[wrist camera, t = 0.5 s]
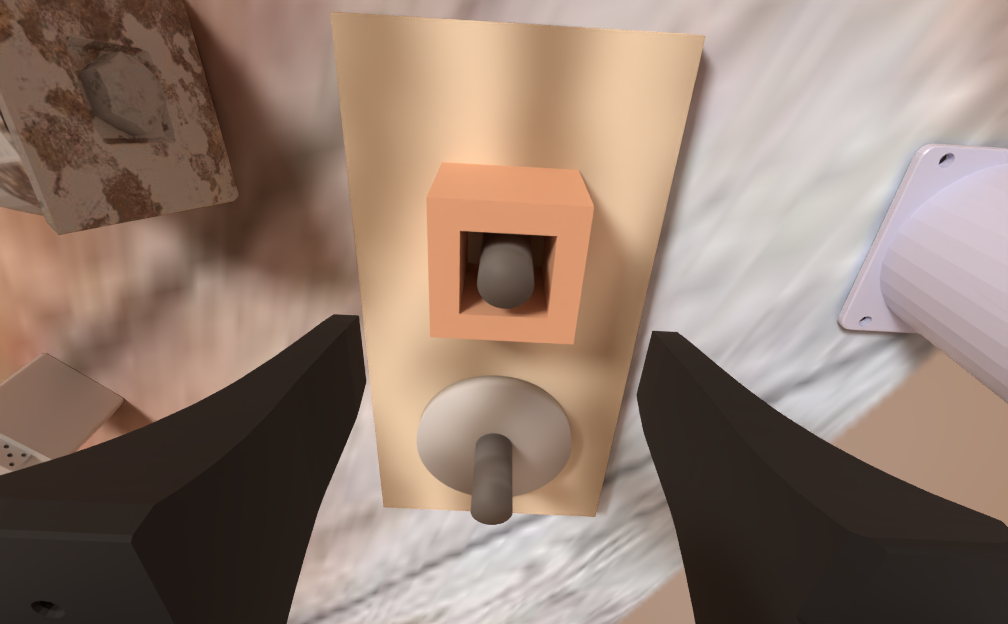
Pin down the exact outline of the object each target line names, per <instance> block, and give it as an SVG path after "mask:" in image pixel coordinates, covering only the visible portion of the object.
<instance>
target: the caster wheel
mask: <svg viewBox="0 0 1008 624" xmlns="http://www.w3.org/2000/svg"><path fill="white" fill-rule="evenodd" d="M238 196H239V193H238V190H237V186H236V183H235V179H234V176H233V172H232V169H231V165H230V162H229V158H228V154H227V151H226V147H225V144H224V140H223V137H222V133H221V130H220V126H219V123H218V119H217V116H216V112H215V108H214V105H213V101H212V98H211V94H210V91H209V87H208V84H207V80H206V77H205V73H204V70H203V66H202V62H201V59H200V55H199V52H198V48H197V45H196V41H195V38H194V34H193V31H192V27H191V23H190V20H189V17H188V14H187V11H186V8H185V5H184V2H183V0H0V207H4V208H8V209H13V210H17V211H22V212H27V213H31V214H37V215H42V216H44V217H45V219H46V221H47V223H48V224H49V225H50V226H51V227H52V228H53V229H54V230H55V231H56V232H57V233H58V235H62V234H67V233H72V232H78V231H83V230H88V229H93V228H98V227H103V226H109V225H114V224H119V223H124V222H129V221H134V220H139V219H145V218H150V217H155V216H160V215H165V214H170V213H176V212H181V211H186V210H191V209H196V208H201V207H206V206H212V205H217V204H222V203H227V202H232V201H235V200H236V198H237V197H238Z"/></svg>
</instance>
